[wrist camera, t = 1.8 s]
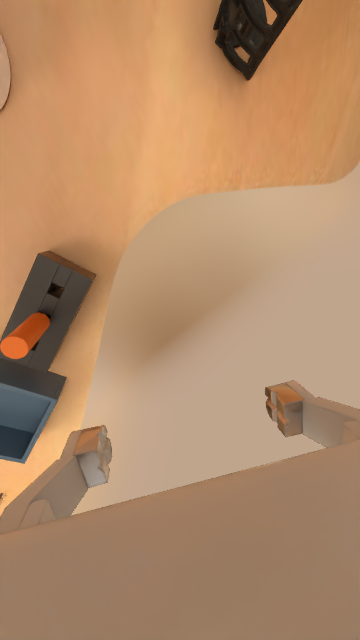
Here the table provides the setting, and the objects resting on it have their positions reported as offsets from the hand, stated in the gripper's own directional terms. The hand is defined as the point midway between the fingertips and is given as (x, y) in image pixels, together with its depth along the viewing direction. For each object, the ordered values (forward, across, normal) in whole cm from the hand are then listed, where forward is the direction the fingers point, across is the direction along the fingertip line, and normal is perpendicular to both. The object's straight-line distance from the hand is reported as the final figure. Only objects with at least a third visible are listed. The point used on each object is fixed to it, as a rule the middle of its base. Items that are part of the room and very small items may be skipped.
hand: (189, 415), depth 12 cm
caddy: (+32, +18, -2) cm, 37 cm away
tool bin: (+33, +31, +12) cm, 47 cm away
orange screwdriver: (+32, +18, -2) cm, 37 cm away
